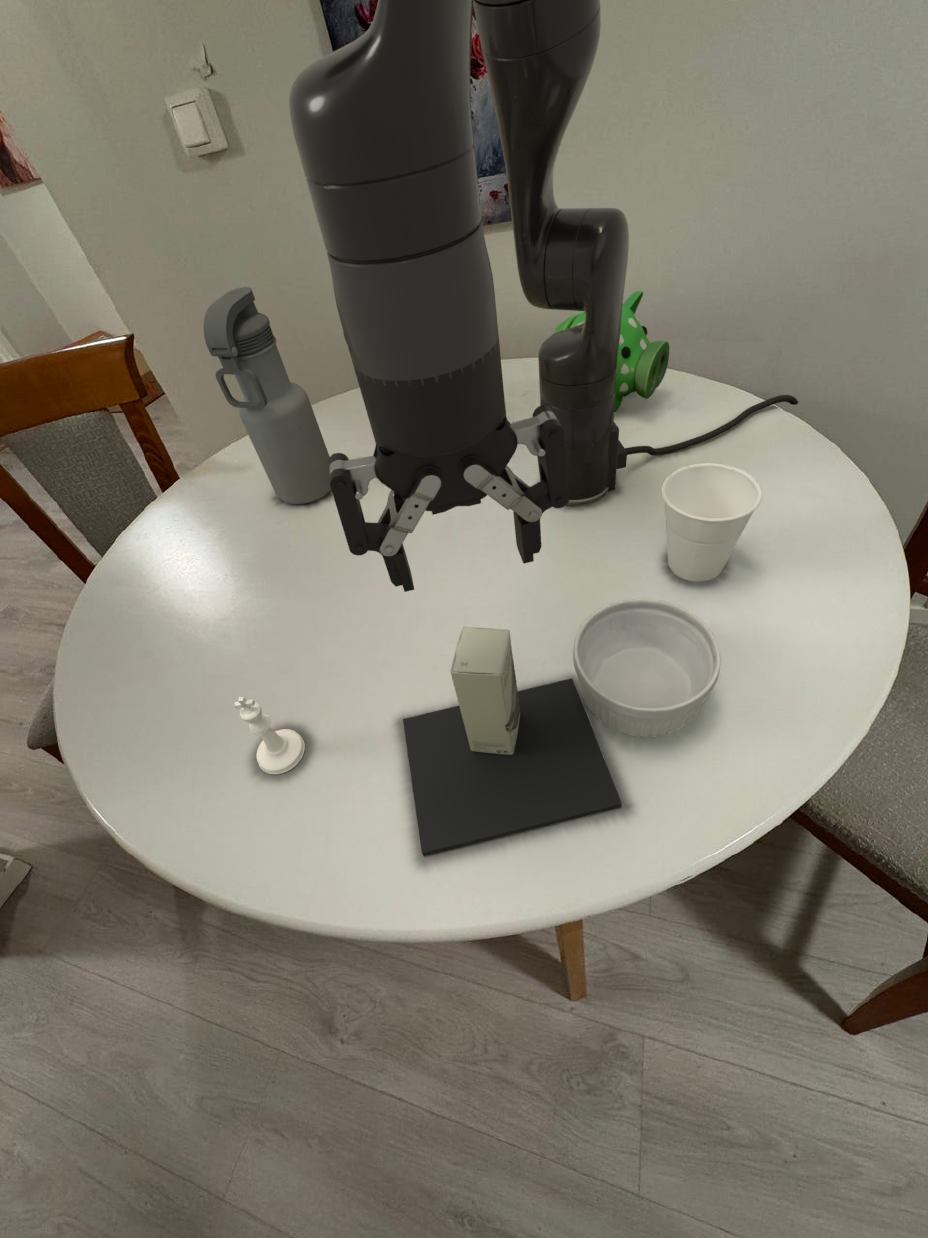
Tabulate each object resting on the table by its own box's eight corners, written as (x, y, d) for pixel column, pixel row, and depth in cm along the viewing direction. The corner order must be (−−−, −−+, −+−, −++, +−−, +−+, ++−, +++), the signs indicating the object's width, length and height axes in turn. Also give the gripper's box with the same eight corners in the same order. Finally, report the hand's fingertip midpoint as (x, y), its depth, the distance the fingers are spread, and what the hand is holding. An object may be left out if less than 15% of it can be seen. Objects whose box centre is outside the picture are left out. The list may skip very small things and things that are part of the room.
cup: (745, 546, 70) (768, 469, 62) (732, 604, 65) (755, 527, 57) (661, 531, 74) (672, 457, 66) (642, 585, 68) (652, 511, 60)
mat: (572, 682, 61) (572, 677, 60) (621, 807, 51) (622, 803, 51) (404, 723, 60) (402, 718, 60) (423, 856, 51) (421, 853, 50)
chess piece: (262, 735, 62) (219, 680, 54) (307, 728, 62) (271, 672, 54) (254, 778, 59) (208, 726, 51) (302, 771, 58) (263, 718, 51)
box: (514, 757, 55) (502, 678, 46) (469, 752, 56) (448, 674, 47) (521, 710, 59) (511, 627, 49) (478, 706, 60) (461, 624, 50)
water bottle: (318, 511, 87) (238, 316, 66) (264, 505, 90) (172, 317, 69) (348, 471, 93) (283, 281, 72) (296, 466, 96) (220, 283, 75)
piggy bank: (637, 431, 89) (647, 332, 78) (532, 412, 97) (527, 319, 86) (669, 387, 97) (681, 290, 86) (568, 372, 105) (568, 282, 93)
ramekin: (681, 773, 53) (693, 734, 48) (550, 716, 58) (548, 676, 53) (725, 667, 59) (740, 623, 54) (603, 625, 65) (606, 582, 60)
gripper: (282, 405, 26) (373, 631, 39) (585, 335, 27) (581, 581, 39) (285, 339, 31) (365, 558, 44) (540, 280, 32) (549, 514, 44)
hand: (467, 569), depth 41 cm, fingers open, 8 cm apart
